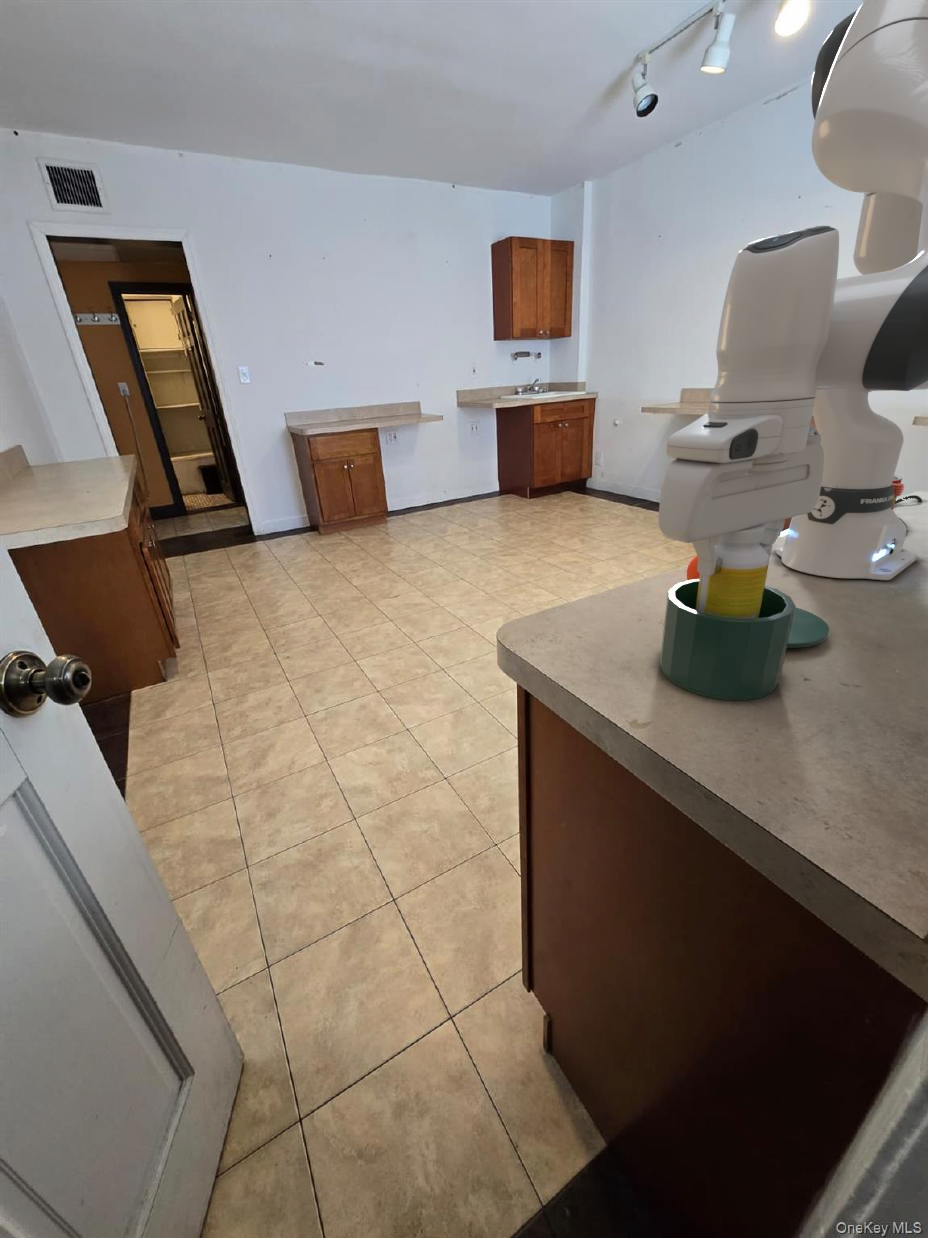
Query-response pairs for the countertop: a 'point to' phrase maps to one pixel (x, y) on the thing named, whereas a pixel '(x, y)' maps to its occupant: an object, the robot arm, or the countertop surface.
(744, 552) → the pill bottle
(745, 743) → the countertop surface
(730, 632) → the tin
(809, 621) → the lid
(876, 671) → the countertop surface
